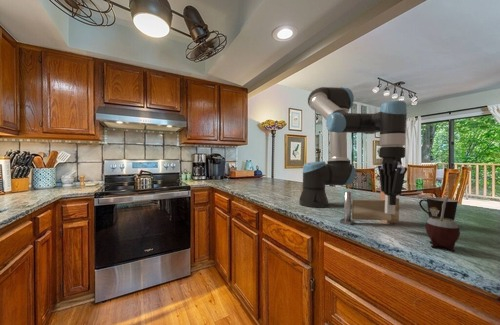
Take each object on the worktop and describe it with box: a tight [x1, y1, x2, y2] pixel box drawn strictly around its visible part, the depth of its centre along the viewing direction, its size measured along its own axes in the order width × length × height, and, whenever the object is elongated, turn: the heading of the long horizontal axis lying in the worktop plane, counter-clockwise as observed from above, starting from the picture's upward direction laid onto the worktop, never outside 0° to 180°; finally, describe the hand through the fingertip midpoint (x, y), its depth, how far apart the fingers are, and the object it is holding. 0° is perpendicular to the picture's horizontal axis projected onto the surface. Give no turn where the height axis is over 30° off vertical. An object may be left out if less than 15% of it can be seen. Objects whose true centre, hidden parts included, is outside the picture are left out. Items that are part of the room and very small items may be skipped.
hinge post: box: [339, 191, 356, 226], centre depth 81 cm, size 4×4×12 cm
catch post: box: [379, 190, 396, 224], centre depth 83 cm, size 4×4×14 cm
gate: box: [351, 197, 400, 223], centre depth 80 cm, size 2×17×9 cm, turn 88°
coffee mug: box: [418, 196, 459, 221], centre depth 80 cm, size 12×9×10 cm
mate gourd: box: [425, 197, 461, 253], centre depth 58 cm, size 8×8×15 cm
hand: (389, 213), depth 73 cm, fingers closed
